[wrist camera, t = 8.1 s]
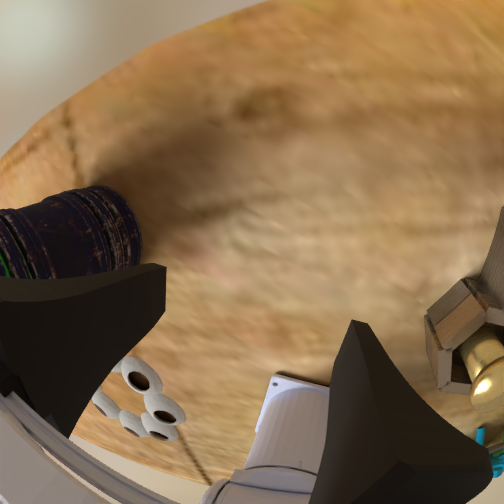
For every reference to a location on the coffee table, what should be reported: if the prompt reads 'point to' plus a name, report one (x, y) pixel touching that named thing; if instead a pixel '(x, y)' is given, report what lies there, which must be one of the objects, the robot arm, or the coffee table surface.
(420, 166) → the coffee table surface
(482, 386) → the hinge pin
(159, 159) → the coffee table surface
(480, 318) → the hinge
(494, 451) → the gear
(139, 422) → the ring
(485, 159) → the coffee table surface
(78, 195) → the storage jar
